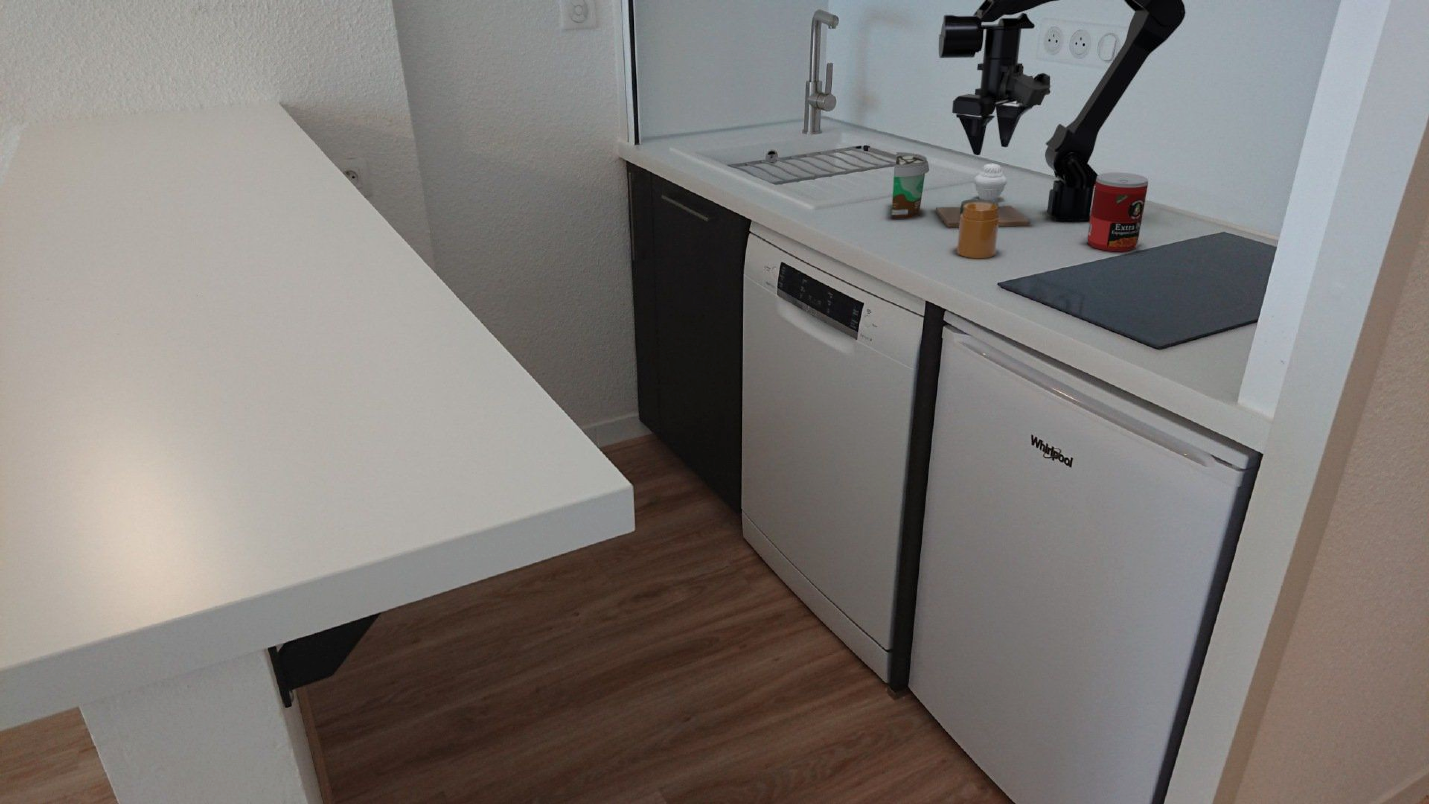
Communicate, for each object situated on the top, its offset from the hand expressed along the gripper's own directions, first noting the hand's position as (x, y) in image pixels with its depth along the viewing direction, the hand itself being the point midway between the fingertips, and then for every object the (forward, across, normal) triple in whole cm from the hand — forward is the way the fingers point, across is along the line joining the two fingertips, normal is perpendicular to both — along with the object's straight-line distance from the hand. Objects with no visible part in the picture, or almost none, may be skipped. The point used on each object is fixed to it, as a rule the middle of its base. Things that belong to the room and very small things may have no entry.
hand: (990, 150), depth 168 cm
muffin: (+12, +12, +6) cm, 18 cm away
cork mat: (+12, -1, 0) cm, 12 cm away
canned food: (+12, -2, -25) cm, 28 cm away
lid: (+10, -1, 0) cm, 10 cm away
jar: (+12, -20, -11) cm, 26 cm away
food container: (+12, -6, +12) cm, 18 cm away
